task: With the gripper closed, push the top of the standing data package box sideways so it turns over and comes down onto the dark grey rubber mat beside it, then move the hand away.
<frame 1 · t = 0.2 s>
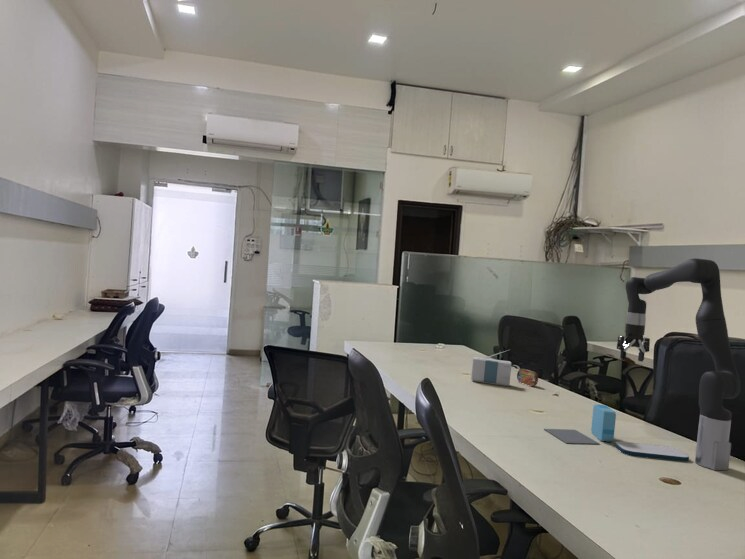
hand: (631, 360, 226), 29 cm above the table, tool pointing down, fingers open, 8 cm apart
white blue flat slab: (650, 454, 191), on the table
mat: (570, 436, 203), on the table
data package: (601, 438, 205), on the table
stereo radio cassette player: (490, 383, 292), on the table
tin: (526, 384, 298), on the table
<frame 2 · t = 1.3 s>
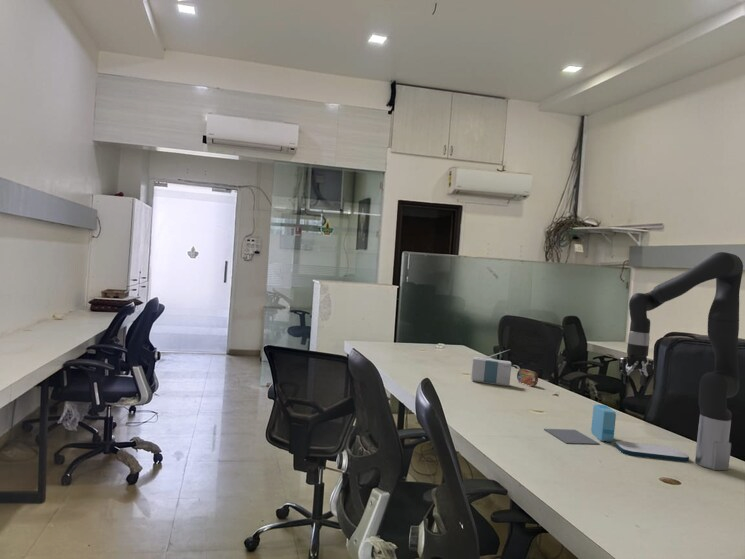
hand: (634, 384, 207), 22 cm above the table, tool pointing down, fingers open, 7 cm apart
nothing on the table moved.
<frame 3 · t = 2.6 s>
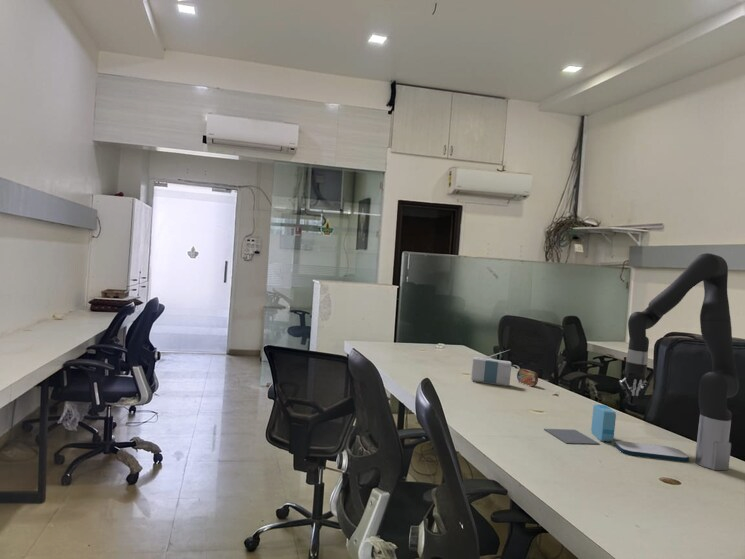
hand: (631, 404, 207), 14 cm above the table, tool pointing down, fingers closed
nothing on the table moved.
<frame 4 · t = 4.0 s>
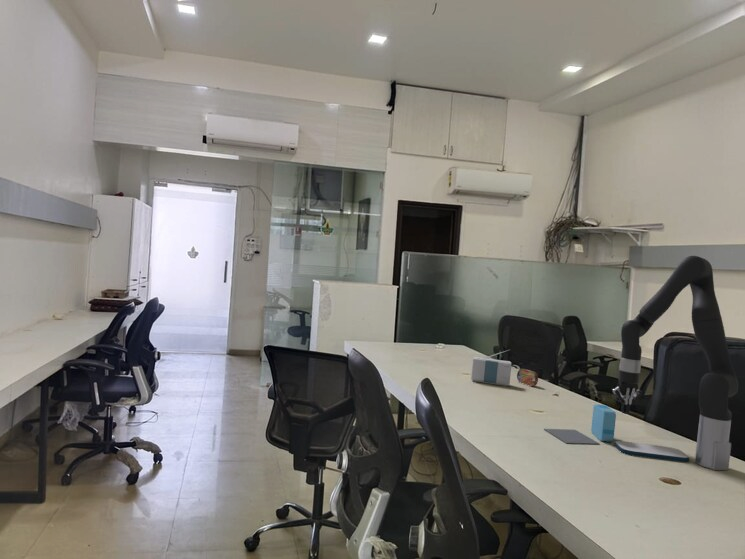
hand: (625, 413, 207), 10 cm above the table, tool pointing down, fingers closed
nothing on the table moved.
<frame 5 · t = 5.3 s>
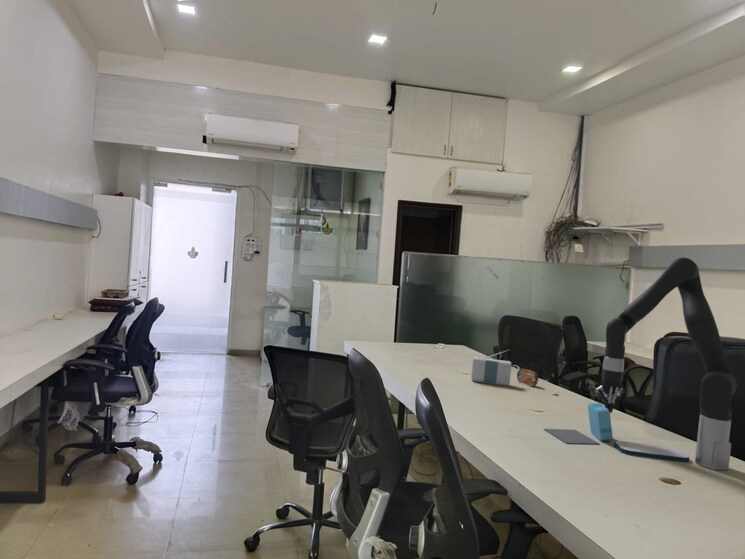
hand: (608, 412, 206), 10 cm above the table, tool pointing down, fingers closed
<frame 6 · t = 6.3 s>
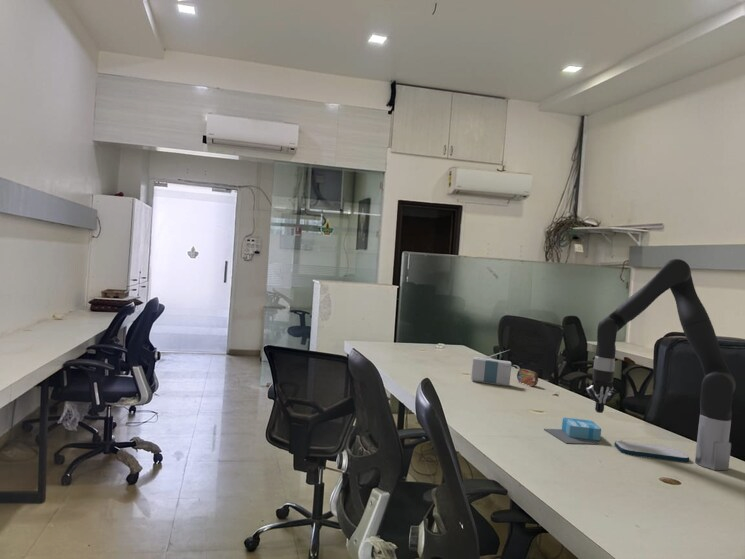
hand: (599, 412, 205), 10 cm above the table, tool pointing down, fingers closed
data package: (597, 430, 205), point 3 cm above the table, touching mat
everything else where it was.
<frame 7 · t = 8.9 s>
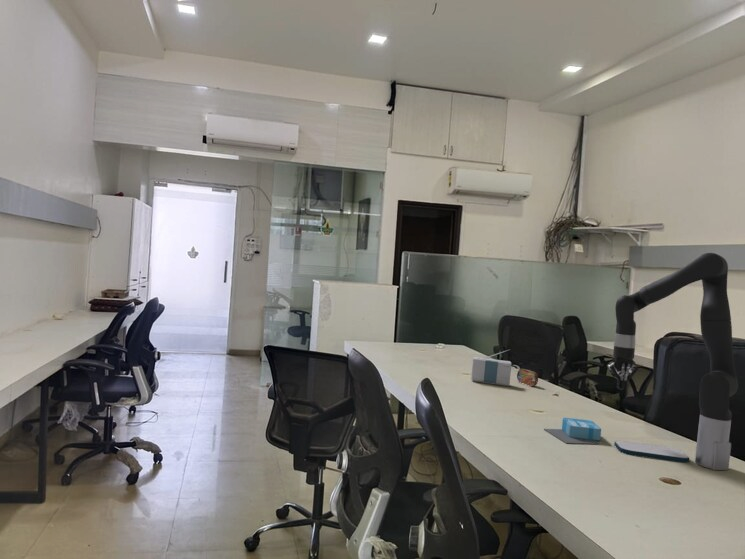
hand: (620, 389, 206), 20 cm above the table, tool pointing down, fingers closed
nothing on the table moved.
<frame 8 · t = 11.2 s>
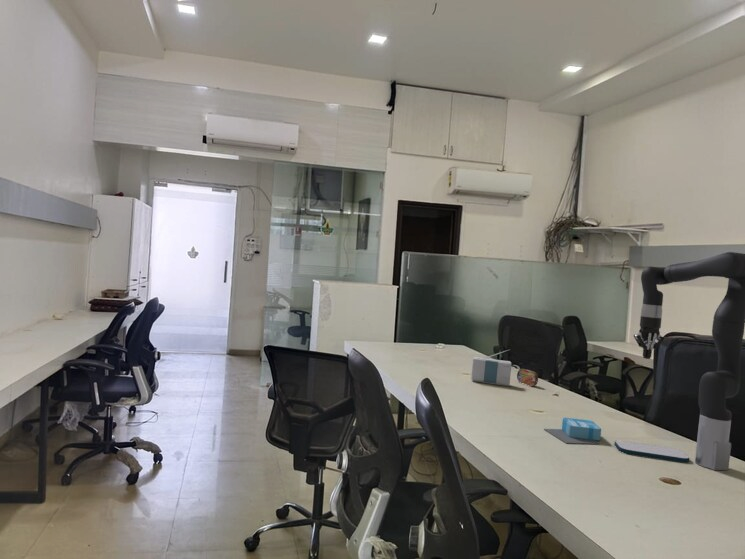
hand: (646, 358, 211), 32 cm above the table, tool pointing down, fingers closed
nothing on the table moved.
at the end: data package tilted 90°; data package inside the target area on the mat (9.6 cm from its centre), point 2.7 cm above the mat's base; data package moved 3.3 cm from its start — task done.
